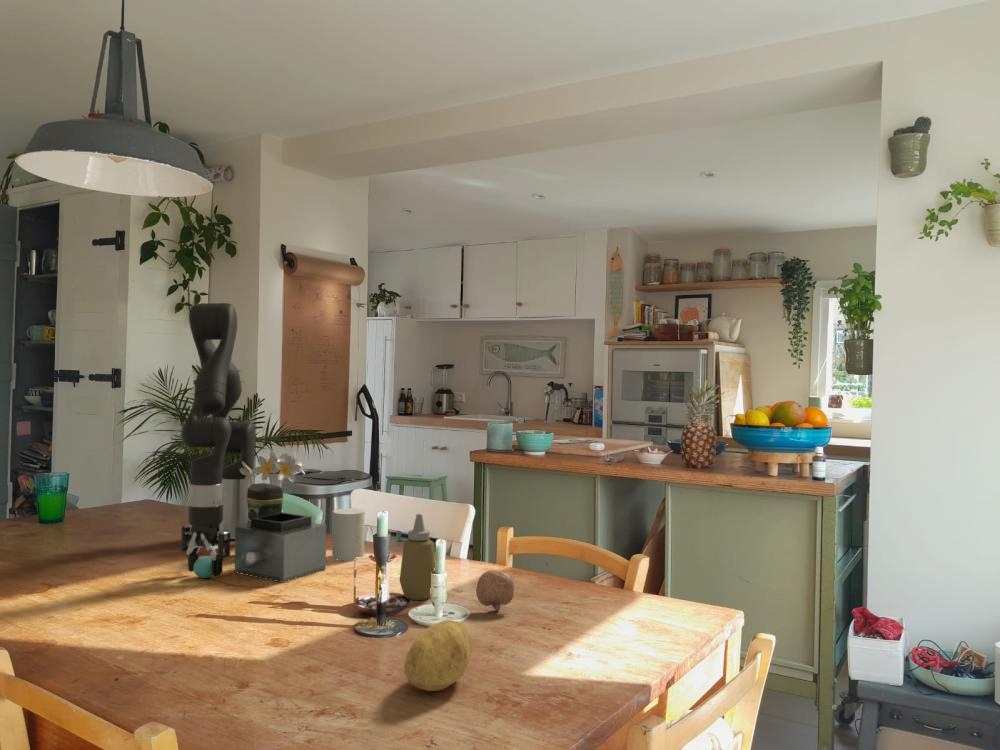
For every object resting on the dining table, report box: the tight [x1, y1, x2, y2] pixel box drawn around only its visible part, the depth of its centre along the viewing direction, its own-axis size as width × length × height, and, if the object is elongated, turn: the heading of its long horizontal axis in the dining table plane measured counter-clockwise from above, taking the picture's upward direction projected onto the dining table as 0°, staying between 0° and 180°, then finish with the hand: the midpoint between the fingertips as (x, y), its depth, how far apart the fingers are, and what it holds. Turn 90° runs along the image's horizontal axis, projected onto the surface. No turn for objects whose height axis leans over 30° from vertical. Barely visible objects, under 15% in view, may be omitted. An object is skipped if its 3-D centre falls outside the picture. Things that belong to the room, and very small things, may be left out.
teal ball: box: [193, 555, 213, 579], centre depth 183 cm, size 5×5×5 cm
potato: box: [403, 619, 473, 692], centre depth 124 cm, size 10×14×10 cm
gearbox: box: [234, 511, 327, 583], centre depth 188 cm, size 16×18×13 cm
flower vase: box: [239, 451, 306, 512], centre depth 223 cm, size 13×18×25 cm
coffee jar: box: [247, 482, 284, 524], centre depth 207 cm, size 10×8×19 cm
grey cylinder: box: [331, 507, 366, 561], centre depth 205 cm, size 8×8×12 cm
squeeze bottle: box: [399, 513, 436, 601], centre depth 171 cm, size 8×8×18 cm
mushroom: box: [475, 569, 515, 612], centre depth 162 cm, size 8×6×8 cm
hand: (204, 573), depth 183 cm, fingers open, 7 cm apart
